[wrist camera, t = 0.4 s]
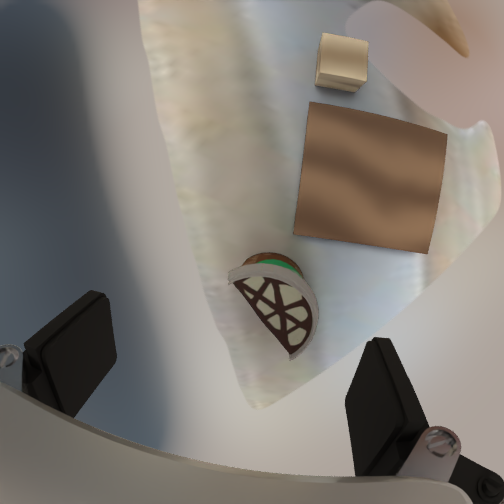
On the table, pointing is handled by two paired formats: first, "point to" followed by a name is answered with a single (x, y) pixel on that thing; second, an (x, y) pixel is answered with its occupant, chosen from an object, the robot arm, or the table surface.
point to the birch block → (341, 62)
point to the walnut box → (369, 179)
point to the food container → (279, 298)
